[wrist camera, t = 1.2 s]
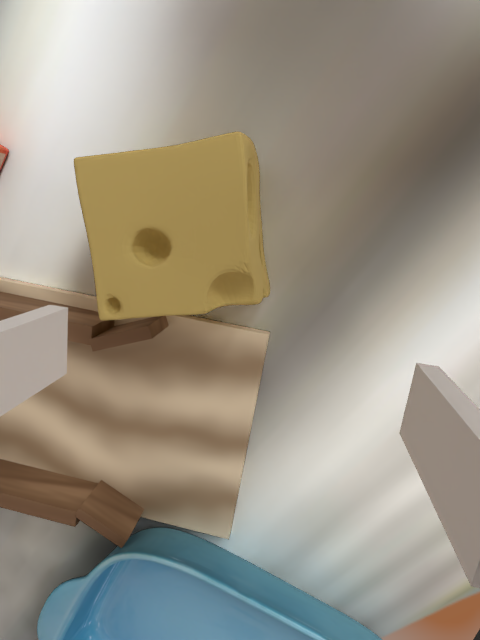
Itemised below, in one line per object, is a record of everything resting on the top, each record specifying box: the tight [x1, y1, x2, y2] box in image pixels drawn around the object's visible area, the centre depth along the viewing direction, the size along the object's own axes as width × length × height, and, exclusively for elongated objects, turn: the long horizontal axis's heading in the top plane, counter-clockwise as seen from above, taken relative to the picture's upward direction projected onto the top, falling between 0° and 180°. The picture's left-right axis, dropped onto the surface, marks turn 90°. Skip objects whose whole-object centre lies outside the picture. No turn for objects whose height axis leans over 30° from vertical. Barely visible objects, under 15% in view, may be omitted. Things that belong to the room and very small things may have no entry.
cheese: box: [74, 132, 270, 321], centre depth 28 cm, size 10×11×10 cm
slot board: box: [0, 277, 270, 548], centre depth 35 cm, size 20×28×6 cm
